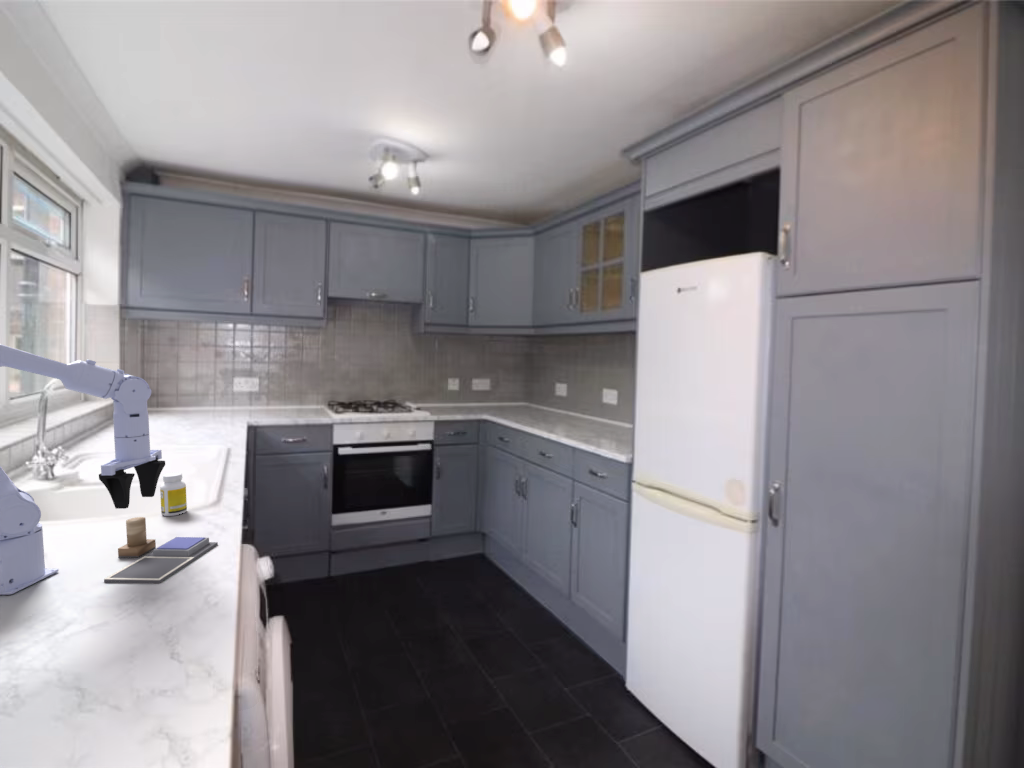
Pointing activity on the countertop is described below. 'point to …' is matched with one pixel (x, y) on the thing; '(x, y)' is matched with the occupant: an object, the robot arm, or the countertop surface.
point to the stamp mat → (163, 561)
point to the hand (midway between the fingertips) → (135, 502)
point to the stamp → (136, 539)
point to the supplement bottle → (173, 495)
